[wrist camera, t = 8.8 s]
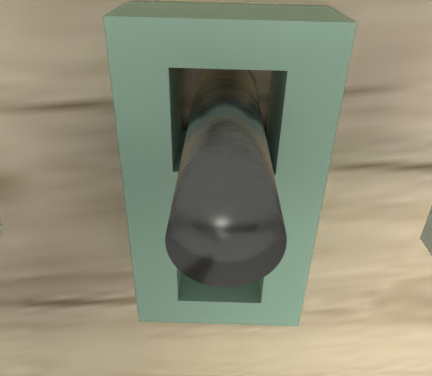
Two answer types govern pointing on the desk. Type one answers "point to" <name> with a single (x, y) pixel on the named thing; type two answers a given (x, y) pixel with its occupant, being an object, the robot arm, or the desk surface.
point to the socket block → (175, 138)
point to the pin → (225, 188)
